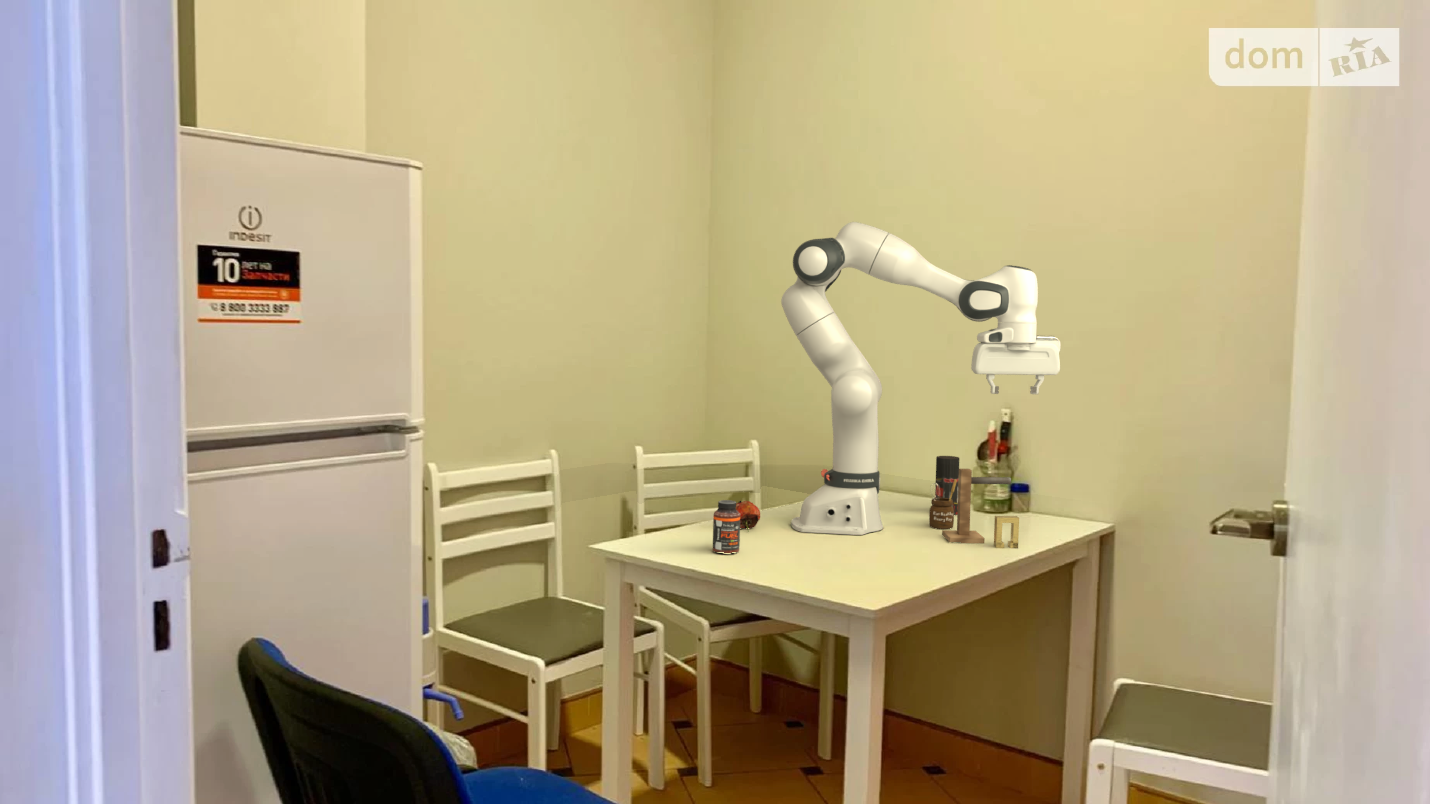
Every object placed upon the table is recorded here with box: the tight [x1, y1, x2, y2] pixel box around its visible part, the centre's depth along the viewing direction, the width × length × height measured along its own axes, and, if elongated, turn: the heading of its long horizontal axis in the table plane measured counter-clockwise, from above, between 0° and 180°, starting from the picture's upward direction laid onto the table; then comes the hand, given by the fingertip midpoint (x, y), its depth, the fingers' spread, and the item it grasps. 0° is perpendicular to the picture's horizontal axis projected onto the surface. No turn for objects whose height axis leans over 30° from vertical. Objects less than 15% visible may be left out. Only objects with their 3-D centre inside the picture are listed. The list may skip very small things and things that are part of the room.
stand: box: [941, 468, 1012, 544], centre depth 240 cm, size 15×8×17 cm, turn 90°
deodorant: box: [934, 455, 960, 516], centre depth 270 cm, size 6×6×15 cm
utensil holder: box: [928, 479, 957, 530], centre depth 253 cm, size 6×6×12 cm
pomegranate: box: [736, 500, 761, 533], centre depth 248 cm, size 7×7×10 cm
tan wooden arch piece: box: [993, 515, 1020, 549], centre depth 233 cm, size 2×5×7 cm, turn 91°
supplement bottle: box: [712, 499, 741, 553], centre depth 225 cm, size 6×6×11 cm
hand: (1014, 393), depth 242 cm, fingers open, 8 cm apart
